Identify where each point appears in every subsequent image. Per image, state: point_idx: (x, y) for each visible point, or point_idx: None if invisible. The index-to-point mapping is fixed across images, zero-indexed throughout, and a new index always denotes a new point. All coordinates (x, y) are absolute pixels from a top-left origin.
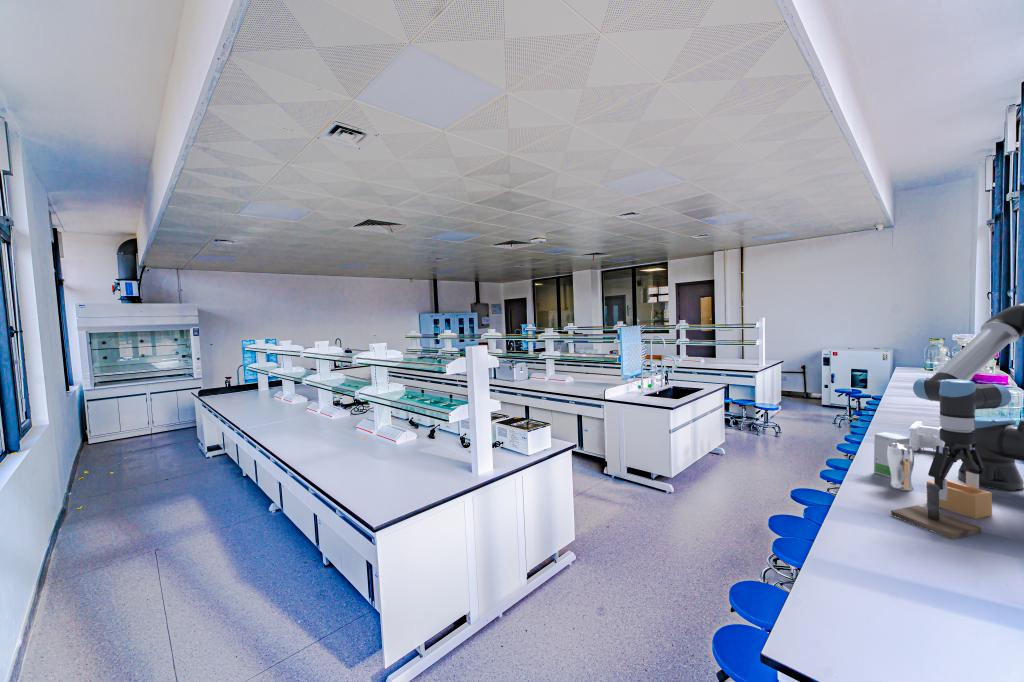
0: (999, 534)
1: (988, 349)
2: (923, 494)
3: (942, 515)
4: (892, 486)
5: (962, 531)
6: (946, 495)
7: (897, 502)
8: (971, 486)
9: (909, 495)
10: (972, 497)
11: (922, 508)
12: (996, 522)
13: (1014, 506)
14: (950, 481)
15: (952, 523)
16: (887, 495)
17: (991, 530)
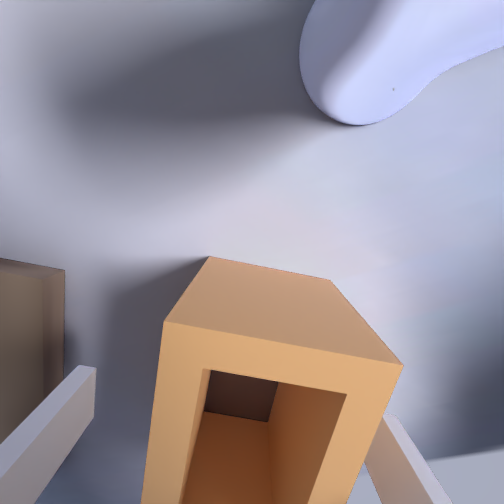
0: (104, 491)
1: None
2: (333, 195)
3: (21, 388)
4: (309, 11)
5: None
6: (63, 452)
7: (69, 168)
8: (399, 491)
9: (247, 156)
10: None
11: (20, 310)
12: None
13: (466, 453)
14: (356, 429)
15: None
16: (128, 75)
17: (117, 473)
